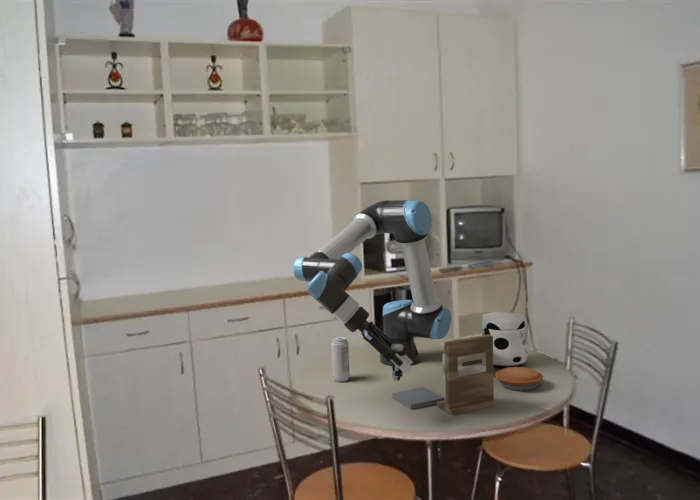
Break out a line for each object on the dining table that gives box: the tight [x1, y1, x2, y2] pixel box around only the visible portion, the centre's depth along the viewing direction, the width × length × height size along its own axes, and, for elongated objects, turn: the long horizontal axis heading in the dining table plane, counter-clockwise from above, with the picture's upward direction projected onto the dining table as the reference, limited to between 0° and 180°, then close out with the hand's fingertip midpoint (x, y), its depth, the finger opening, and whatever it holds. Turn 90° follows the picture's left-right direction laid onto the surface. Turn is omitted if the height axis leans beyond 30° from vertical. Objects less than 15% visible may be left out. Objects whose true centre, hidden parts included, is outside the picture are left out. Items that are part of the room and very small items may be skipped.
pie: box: [494, 366, 544, 392], centre depth 209 cm, size 15×16×5 cm
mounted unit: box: [436, 335, 497, 416], centre depth 192 cm, size 10×16×22 cm, turn 114°
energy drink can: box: [330, 336, 351, 383], centre depth 221 cm, size 6×6×15 cm
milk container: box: [481, 311, 529, 368], centre depth 233 cm, size 17×17×18 cm
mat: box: [391, 386, 445, 410], centre depth 199 cm, size 12×12×2 cm
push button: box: [390, 344, 406, 382], centre depth 184 cm, size 7×5×10 cm
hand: (409, 368), depth 184 cm, fingers closed on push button, 5 cm apart
